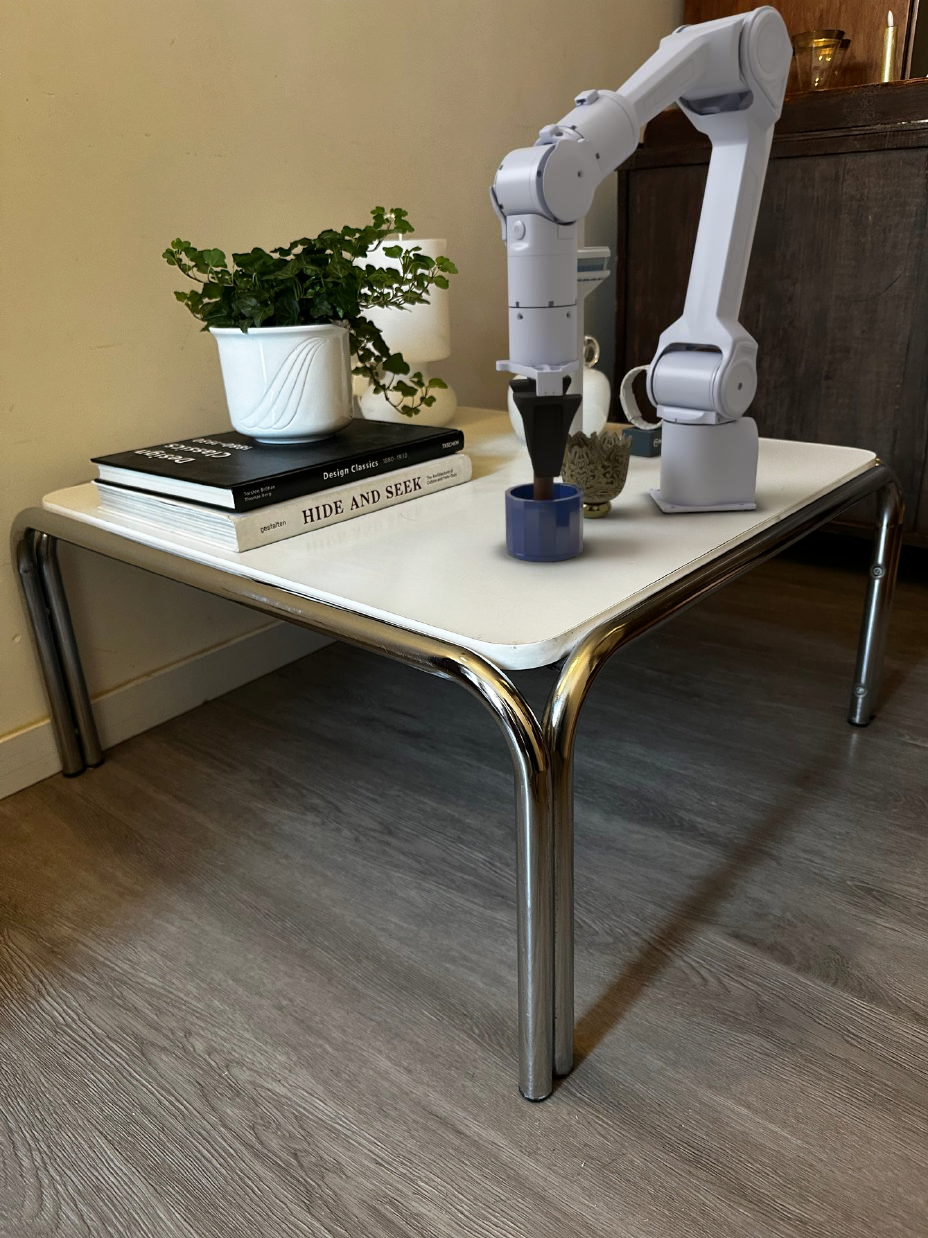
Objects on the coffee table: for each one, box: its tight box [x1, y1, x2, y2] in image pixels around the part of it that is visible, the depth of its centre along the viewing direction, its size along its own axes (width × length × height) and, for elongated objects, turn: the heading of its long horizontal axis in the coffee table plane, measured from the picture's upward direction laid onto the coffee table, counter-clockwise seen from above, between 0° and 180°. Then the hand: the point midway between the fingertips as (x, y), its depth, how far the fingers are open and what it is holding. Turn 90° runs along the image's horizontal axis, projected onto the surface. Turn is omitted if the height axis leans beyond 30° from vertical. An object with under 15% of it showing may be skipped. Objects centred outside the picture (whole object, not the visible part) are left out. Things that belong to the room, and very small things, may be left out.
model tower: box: [560, 215, 611, 475], centre depth 108 cm, size 8×8×30 cm
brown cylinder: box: [532, 470, 555, 501], centre depth 84 cm, size 2×2×7 cm
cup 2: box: [560, 430, 632, 519], centre depth 94 cm, size 8×7×8 cm
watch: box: [619, 364, 663, 458], centre depth 120 cm, size 6×8×11 cm
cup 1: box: [504, 481, 585, 563], centre depth 84 cm, size 7×7×6 cm
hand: (543, 466), depth 82 cm, fingers open, 7 cm apart
